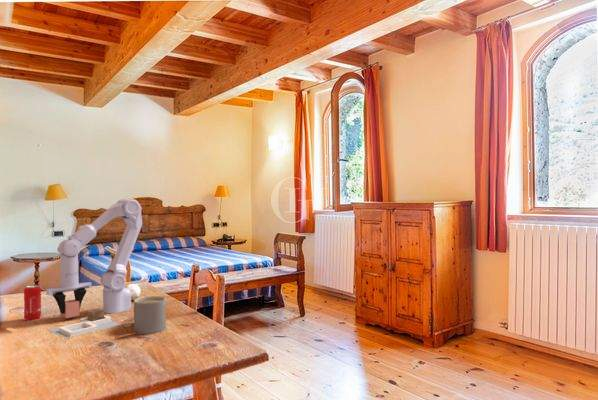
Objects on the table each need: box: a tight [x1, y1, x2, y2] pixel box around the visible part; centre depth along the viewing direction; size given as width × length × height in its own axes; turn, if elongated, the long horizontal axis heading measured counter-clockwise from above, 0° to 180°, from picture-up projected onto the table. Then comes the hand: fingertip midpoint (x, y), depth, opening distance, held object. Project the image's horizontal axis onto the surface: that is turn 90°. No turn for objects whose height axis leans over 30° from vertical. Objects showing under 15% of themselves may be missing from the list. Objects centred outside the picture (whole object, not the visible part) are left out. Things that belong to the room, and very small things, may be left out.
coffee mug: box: [133, 295, 167, 335], centre depth 141 cm, size 13×10×10 cm
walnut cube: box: [86, 307, 105, 322], centre depth 145 cm, size 4×4×4 cm
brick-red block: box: [60, 299, 81, 319], centre depth 149 cm, size 4×4×5 cm
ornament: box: [124, 281, 142, 302], centre depth 179 cm, size 7×7×8 cm
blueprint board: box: [47, 314, 122, 339], centre depth 139 cm, size 18×14×2 cm
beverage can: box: [23, 284, 42, 322], centre depth 152 cm, size 5×5×12 cm
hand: (70, 311), depth 149 cm, fingers closed on brick-red block, 4 cm apart
